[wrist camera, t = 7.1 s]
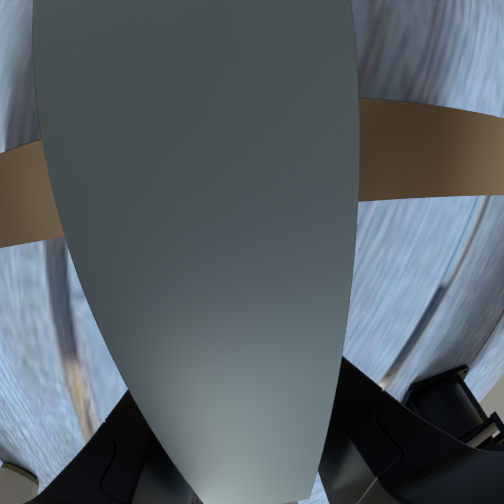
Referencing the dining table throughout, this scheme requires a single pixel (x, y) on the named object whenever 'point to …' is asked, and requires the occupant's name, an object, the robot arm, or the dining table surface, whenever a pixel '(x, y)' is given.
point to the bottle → (16, 485)
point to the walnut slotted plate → (370, 164)
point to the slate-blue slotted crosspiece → (211, 217)
